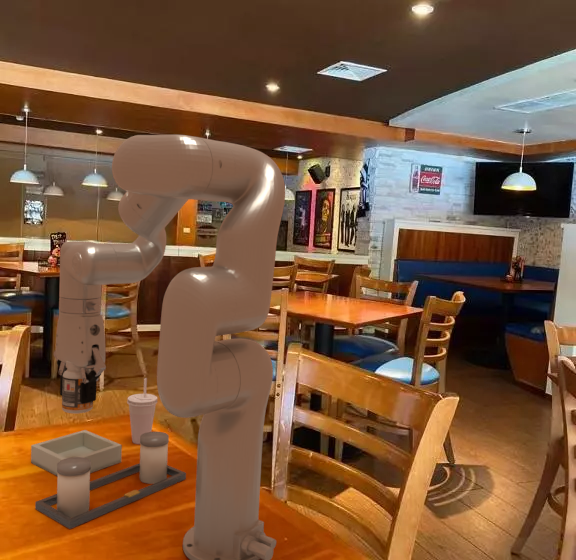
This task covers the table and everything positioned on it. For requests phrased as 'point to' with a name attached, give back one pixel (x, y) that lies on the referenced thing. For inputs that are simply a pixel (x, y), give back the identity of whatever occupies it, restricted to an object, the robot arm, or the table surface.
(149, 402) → the smoothie
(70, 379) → the pill bottle
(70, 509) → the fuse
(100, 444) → the tray
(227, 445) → the robot arm
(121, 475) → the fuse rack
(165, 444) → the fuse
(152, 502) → the table surface
